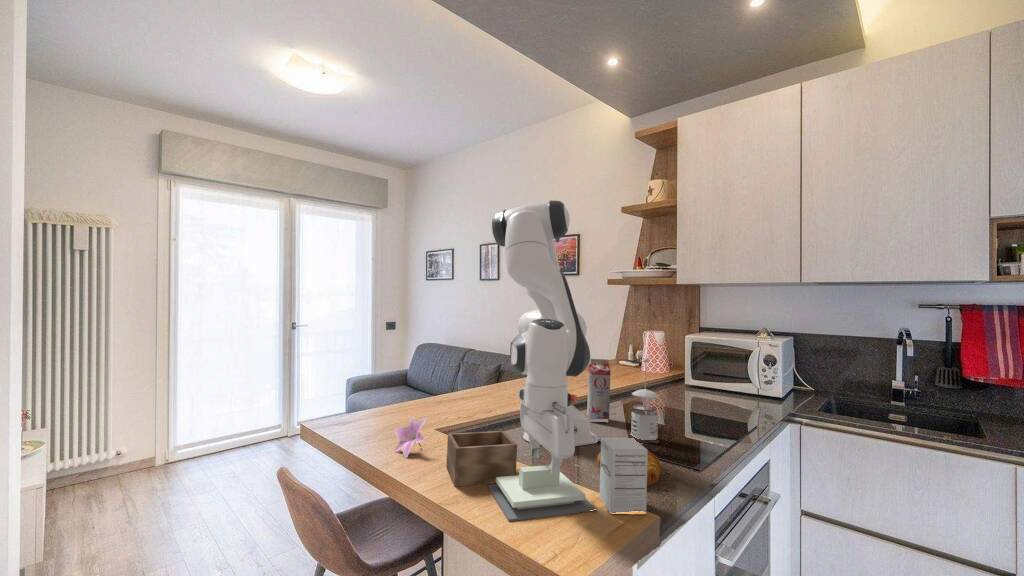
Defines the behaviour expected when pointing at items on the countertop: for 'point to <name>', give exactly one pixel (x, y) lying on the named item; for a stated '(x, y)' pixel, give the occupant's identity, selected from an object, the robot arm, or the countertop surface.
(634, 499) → the supplement box
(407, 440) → the lily
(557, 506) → the mat
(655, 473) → the croissant
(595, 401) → the juice carton
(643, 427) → the french press
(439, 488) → the countertop surface
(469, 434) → the box
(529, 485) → the lid
